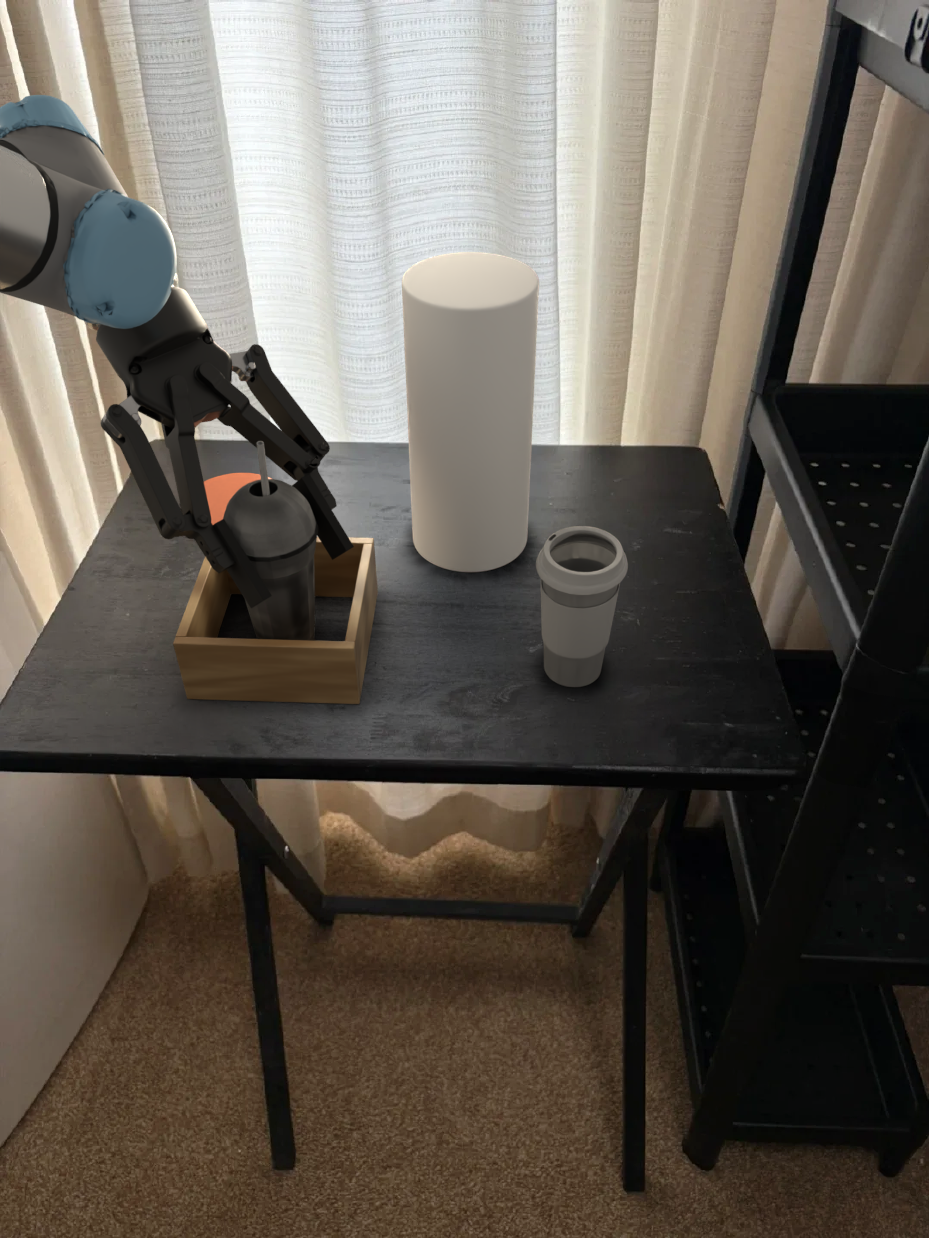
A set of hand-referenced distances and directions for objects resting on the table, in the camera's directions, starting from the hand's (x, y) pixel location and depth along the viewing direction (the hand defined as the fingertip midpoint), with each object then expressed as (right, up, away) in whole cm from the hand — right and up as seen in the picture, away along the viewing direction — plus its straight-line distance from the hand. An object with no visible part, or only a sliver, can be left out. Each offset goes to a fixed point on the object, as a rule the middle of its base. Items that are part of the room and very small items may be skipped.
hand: (303, 576), depth 79 cm
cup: (+21, -7, +6) cm, 23 cm away
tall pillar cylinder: (+13, +4, +19) cm, 23 cm away
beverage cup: (-3, -5, +8) cm, 10 cm away
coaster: (-10, +8, +22) cm, 26 cm away
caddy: (-3, -5, +8) cm, 10 cm away
